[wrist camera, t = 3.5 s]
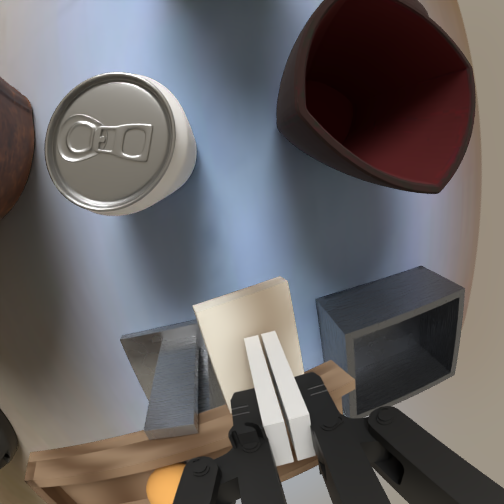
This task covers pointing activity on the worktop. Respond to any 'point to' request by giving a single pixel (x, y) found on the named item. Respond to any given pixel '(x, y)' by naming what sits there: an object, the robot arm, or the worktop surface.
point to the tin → (392, 336)
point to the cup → (379, 94)
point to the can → (119, 144)
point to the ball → (164, 483)
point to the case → (14, 145)
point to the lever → (209, 422)
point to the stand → (173, 377)
